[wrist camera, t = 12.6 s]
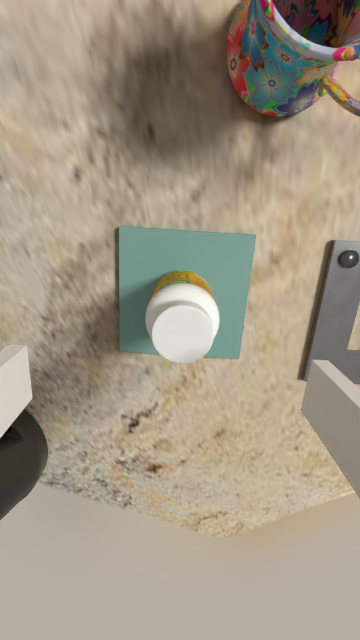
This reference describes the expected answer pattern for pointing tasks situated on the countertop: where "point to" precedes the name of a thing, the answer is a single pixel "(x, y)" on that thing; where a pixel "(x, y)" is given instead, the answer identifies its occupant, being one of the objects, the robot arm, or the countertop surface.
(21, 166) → the countertop surface
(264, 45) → the mug
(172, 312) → the supplement bottle
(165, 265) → the mat
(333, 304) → the flange plate
